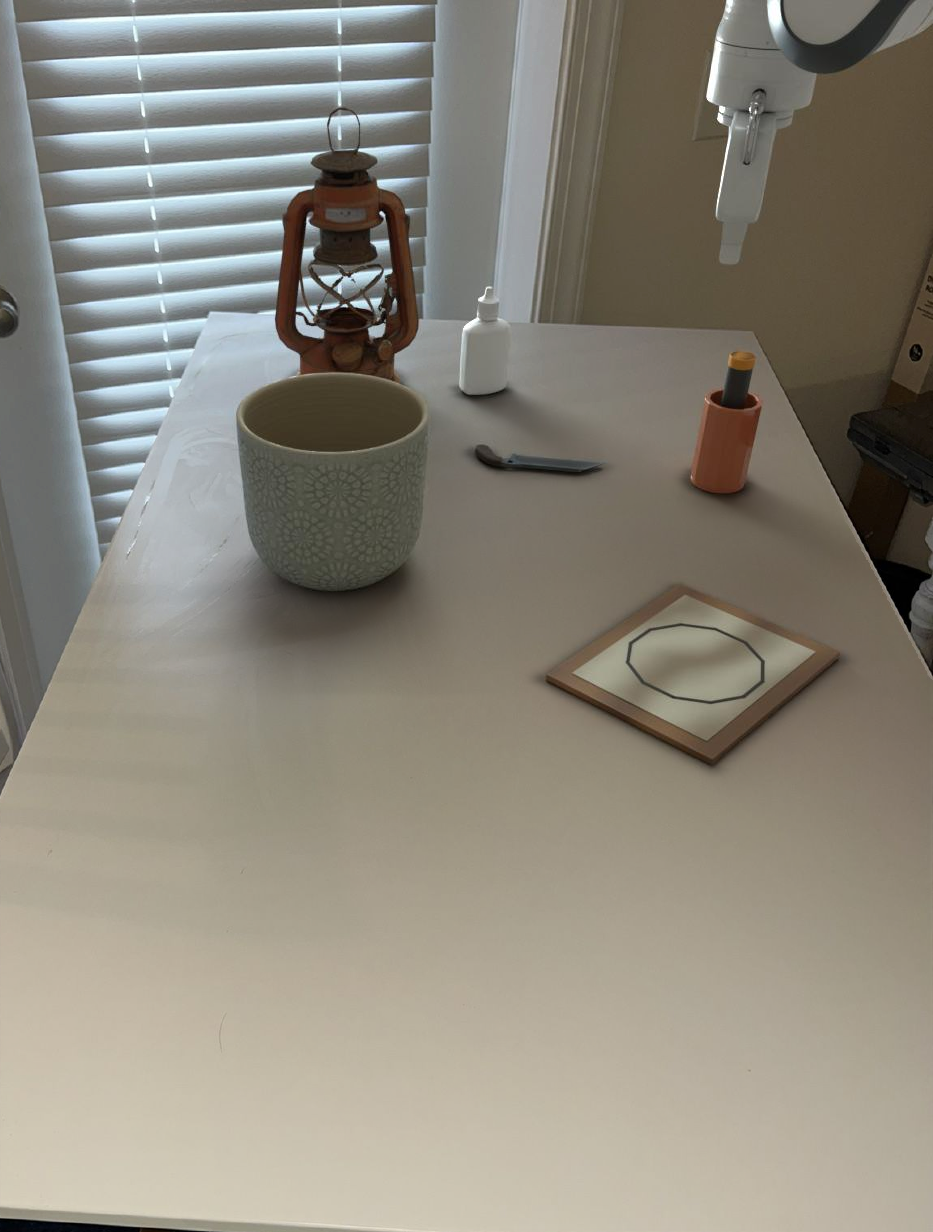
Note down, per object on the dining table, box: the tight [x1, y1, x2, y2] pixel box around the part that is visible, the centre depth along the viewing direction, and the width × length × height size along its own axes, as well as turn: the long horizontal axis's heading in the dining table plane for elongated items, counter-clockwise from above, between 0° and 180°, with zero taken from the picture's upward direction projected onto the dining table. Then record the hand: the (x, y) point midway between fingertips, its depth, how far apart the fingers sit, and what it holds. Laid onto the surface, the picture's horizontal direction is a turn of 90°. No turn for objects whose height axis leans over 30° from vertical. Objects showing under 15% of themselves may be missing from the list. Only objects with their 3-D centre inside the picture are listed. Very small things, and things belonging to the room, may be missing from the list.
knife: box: [474, 444, 605, 473], centre depth 134 cm, size 14×4×1 cm, turn 78°
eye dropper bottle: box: [458, 286, 511, 396], centre depth 145 cm, size 4×6×12 cm
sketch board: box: [545, 583, 841, 765], centre depth 105 cm, size 16×20×1 cm
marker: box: [720, 350, 757, 409], centre depth 127 cm, size 2×2×13 cm
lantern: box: [274, 106, 420, 384], centre depth 141 cm, size 17×13×30 cm
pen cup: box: [689, 387, 764, 494], centre depth 128 cm, size 6×6×9 cm
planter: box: [235, 373, 430, 592], centre depth 114 cm, size 17×17×15 cm
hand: (731, 246), depth 116 cm, fingers open, 8 cm apart
